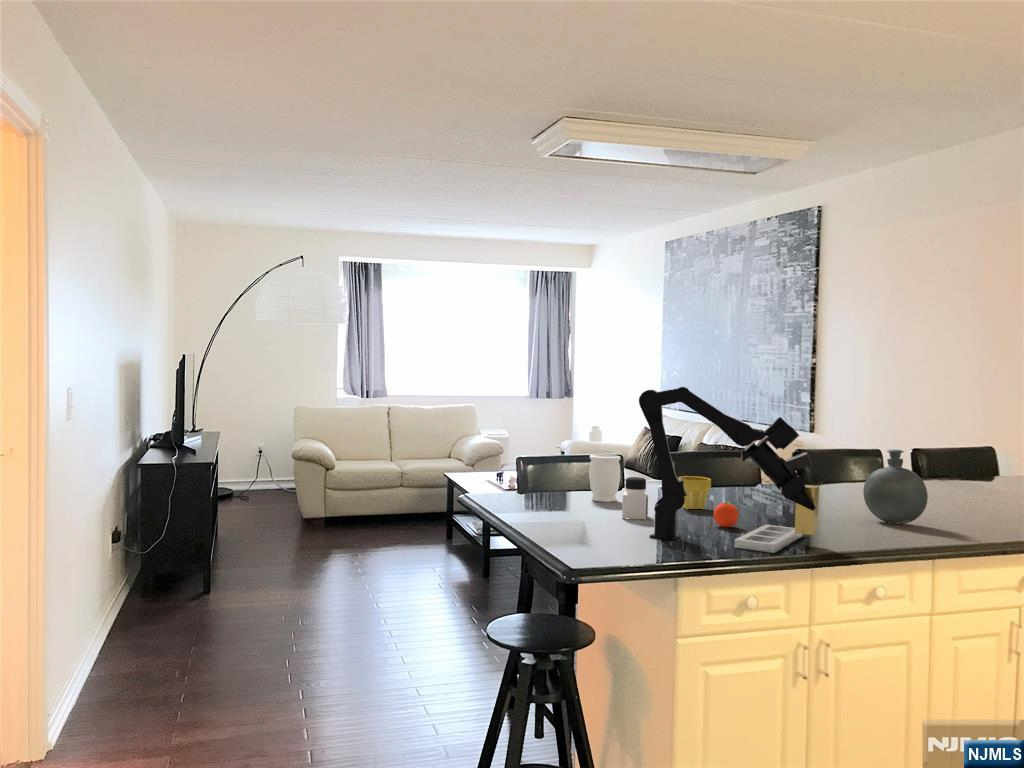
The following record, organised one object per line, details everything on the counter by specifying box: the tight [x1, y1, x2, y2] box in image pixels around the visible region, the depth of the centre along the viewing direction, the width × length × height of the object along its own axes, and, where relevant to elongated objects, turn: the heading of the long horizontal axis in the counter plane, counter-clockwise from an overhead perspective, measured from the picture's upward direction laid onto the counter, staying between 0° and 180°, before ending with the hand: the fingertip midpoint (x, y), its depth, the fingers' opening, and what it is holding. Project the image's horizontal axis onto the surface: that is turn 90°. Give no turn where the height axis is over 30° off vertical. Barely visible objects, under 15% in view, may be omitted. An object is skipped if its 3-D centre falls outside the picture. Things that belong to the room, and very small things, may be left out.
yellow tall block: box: [794, 484, 820, 536], centre depth 218 cm, size 4×4×12 cm
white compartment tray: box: [733, 524, 803, 554], centre depth 222 cm, size 26×10×2 cm, turn 147°
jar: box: [588, 453, 621, 503], centre depth 285 cm, size 11×10×15 cm
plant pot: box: [677, 475, 712, 510], centre depth 272 cm, size 10×10×10 cm
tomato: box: [713, 501, 739, 528], centre depth 242 cm, size 8×7×7 cm
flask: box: [863, 449, 929, 525], centre depth 252 cm, size 12×17×22 cm
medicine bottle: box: [621, 476, 649, 521], centre depth 254 cm, size 7×7×12 cm
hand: (812, 507), depth 217 cm, fingers closed on yellow tall block, 6 cm apart
